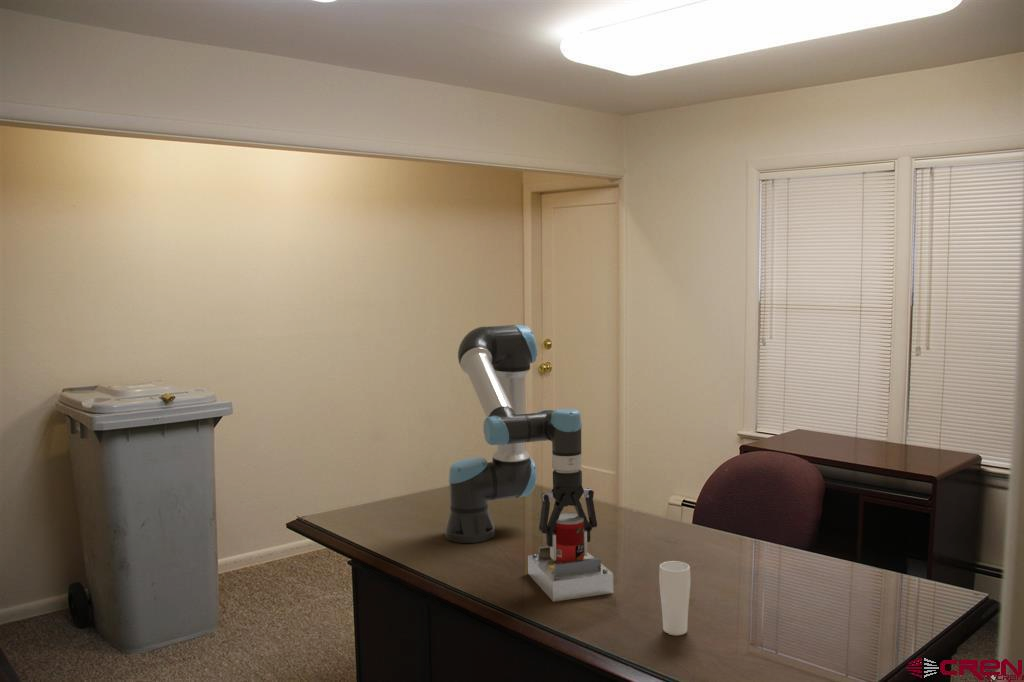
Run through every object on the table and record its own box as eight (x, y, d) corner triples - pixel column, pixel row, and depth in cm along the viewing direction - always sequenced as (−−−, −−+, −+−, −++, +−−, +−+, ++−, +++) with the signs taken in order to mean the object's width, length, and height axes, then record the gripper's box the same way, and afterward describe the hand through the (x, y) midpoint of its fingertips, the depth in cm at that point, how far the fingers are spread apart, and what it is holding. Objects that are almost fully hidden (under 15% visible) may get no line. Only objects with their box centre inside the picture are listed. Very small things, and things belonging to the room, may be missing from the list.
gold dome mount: (528, 573, 222) (527, 544, 221) (583, 566, 226) (583, 537, 226) (553, 601, 203) (552, 569, 202) (613, 592, 207) (612, 561, 206)
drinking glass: (656, 625, 187) (655, 561, 186) (685, 624, 188) (685, 559, 187) (664, 638, 181) (663, 572, 179) (694, 637, 181) (694, 570, 180)
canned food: (582, 565, 209) (581, 522, 208) (551, 563, 211) (550, 521, 210) (586, 554, 217) (585, 513, 216) (555, 553, 218) (555, 512, 217)
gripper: (533, 476, 205) (535, 566, 207) (610, 469, 211) (611, 556, 213) (524, 470, 213) (526, 556, 215) (598, 463, 218) (600, 547, 220)
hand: (568, 556), depth 214 cm, fingers closed on canned food, 8 cm apart
